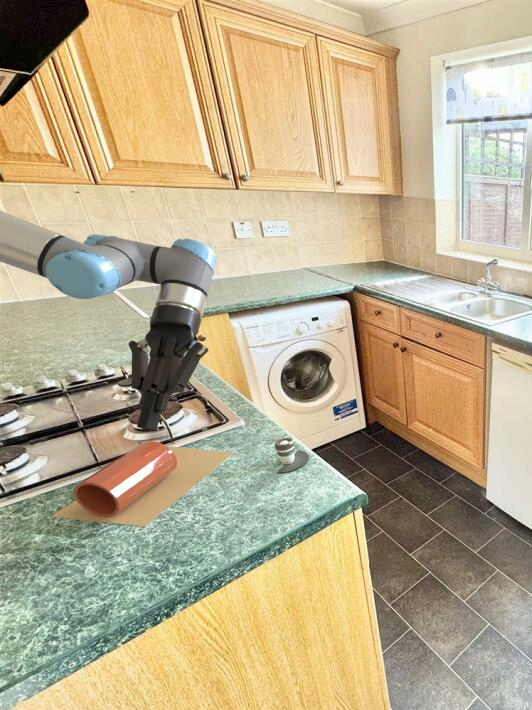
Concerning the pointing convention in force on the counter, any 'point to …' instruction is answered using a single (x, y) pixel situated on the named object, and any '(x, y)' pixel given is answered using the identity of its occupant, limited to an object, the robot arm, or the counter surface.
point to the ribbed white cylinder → (290, 455)
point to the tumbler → (125, 479)
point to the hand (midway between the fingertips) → (146, 428)
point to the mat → (158, 489)
